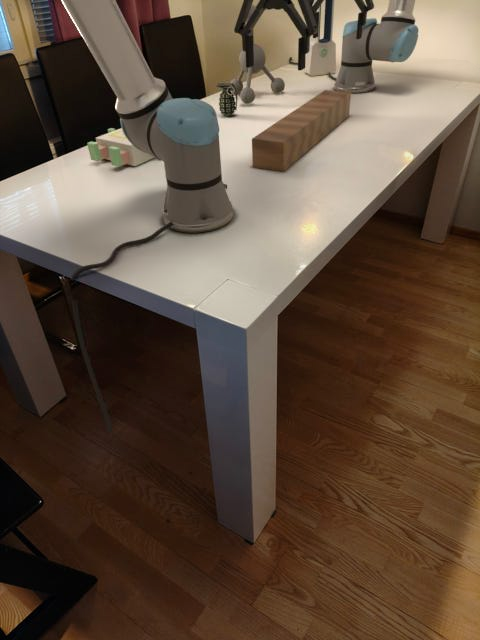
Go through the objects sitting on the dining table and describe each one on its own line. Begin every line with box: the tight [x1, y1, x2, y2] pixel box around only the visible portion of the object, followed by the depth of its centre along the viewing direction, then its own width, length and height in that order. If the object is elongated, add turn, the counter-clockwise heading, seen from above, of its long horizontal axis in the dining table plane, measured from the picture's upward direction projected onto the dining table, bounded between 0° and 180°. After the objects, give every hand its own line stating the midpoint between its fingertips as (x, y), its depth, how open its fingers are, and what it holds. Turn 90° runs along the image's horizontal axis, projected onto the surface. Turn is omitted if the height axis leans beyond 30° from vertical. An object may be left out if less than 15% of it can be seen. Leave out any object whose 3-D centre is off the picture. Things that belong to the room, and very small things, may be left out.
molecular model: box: [229, 4, 286, 105], centre depth 179 cm, size 24×22×30 cm
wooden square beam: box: [251, 89, 352, 172], centre depth 144 cm, size 53×9×8 cm, turn 152°
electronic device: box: [303, 0, 337, 77], centre depth 205 cm, size 12×8×30 cm, turn 105°
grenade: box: [215, 82, 238, 117], centre depth 166 cm, size 7×6×10 cm
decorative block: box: [86, 127, 156, 168], centre depth 141 cm, size 26×6×20 cm
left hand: (275, 68), depth 117 cm, fingers open, 13 cm apart
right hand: (336, 38), depth 147 cm, fingers open, 13 cm apart
